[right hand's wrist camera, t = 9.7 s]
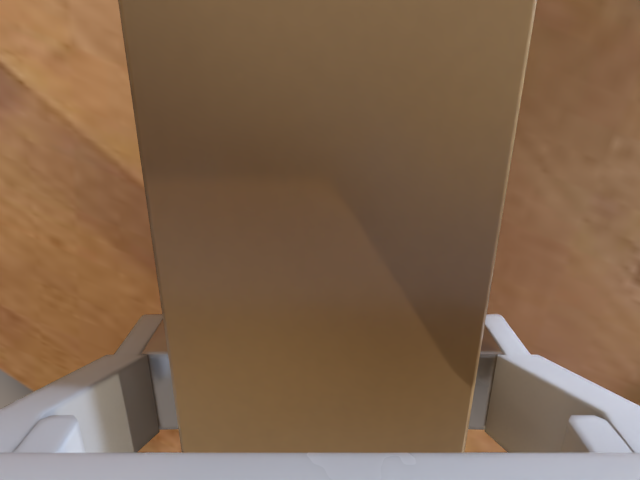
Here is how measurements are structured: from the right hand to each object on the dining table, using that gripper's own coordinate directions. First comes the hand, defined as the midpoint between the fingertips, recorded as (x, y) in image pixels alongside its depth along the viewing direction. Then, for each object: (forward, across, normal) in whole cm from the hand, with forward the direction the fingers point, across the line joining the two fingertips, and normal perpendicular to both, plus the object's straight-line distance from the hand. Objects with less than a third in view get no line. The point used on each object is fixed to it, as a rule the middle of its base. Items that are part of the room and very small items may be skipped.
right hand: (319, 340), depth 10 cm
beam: (+3, 0, -29) cm, 29 cm away
